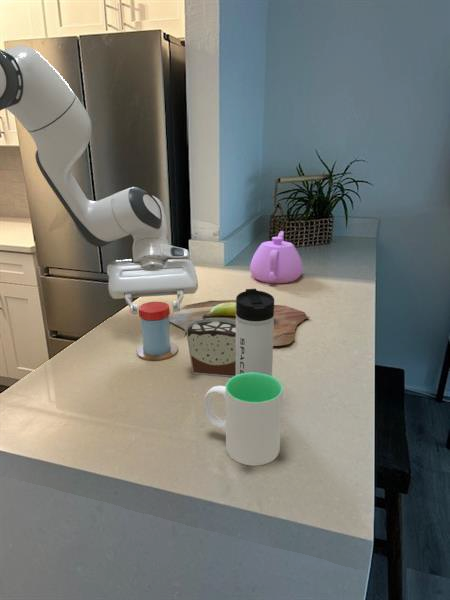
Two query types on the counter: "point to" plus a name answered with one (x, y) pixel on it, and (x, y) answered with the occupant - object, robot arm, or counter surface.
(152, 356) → the coaster
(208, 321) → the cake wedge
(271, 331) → the travel mug
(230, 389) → the mug
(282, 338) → the cutting board
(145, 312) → the lid
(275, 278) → the teapot
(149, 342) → the jar
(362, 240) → the counter surface
